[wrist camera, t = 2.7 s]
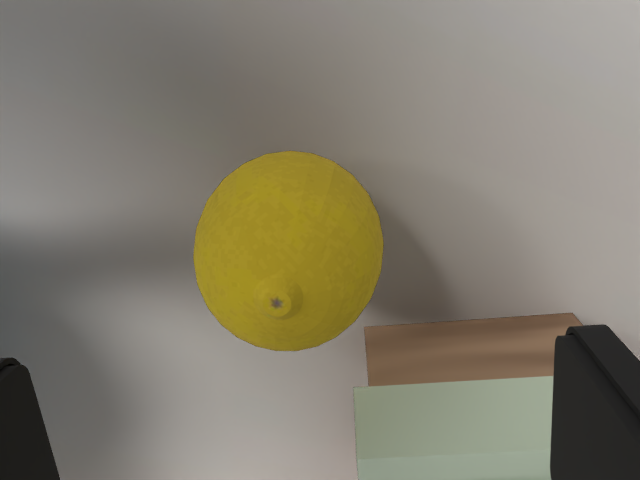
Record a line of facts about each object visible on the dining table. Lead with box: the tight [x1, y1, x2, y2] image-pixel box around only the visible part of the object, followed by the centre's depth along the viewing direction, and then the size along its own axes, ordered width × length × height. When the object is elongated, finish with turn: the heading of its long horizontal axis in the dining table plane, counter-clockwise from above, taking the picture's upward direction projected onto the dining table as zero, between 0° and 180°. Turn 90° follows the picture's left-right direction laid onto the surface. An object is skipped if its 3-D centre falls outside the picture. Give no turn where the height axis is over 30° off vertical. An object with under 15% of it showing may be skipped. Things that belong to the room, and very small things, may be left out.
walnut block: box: [364, 313, 583, 387], centre depth 21 cm, size 8×8×5 cm
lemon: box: [193, 151, 384, 351], centre depth 17 cm, size 6×6×8 cm
